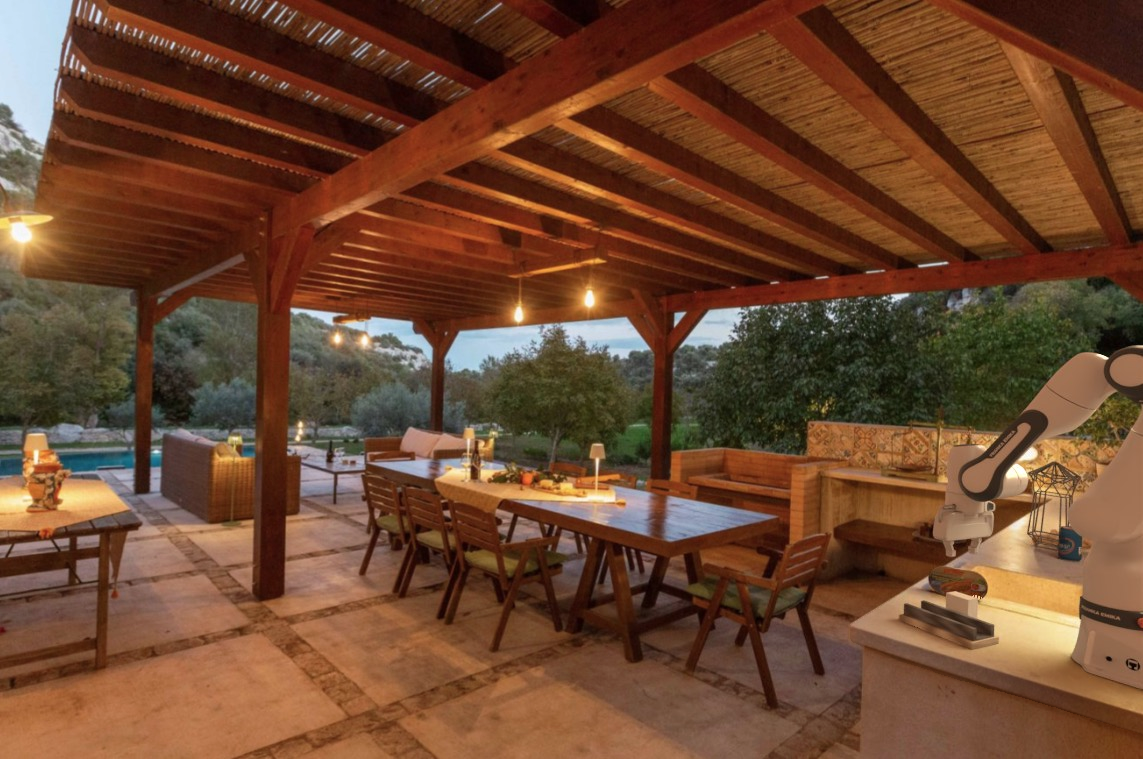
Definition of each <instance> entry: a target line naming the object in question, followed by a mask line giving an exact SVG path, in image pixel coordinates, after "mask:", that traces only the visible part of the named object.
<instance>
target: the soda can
mask: <svg viewBox="0 0 1143 759" xmlns="http://www.w3.org/2000/svg"><path fill="white" fill-rule="evenodd" d="M1058 534H1059V536H1058V539H1057V540H1058V542H1057V545H1058V551H1057V555H1058V557H1059V559H1060V560H1063V561H1066V562H1072V563H1079V562H1080V561H1081V560H1082V558H1083V537H1082V536H1080V535H1079V534H1077V533H1076V532H1075V531H1074V530H1073V529H1072V527H1071V526H1069V527H1068V526H1066V525H1065V526H1062V525H1061V529H1060V530H1059V529H1058Z"/></svg>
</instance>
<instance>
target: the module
mask: <svg viewBox="0 0 1143 759" xmlns="http://www.w3.org/2000/svg"><path fill="white" fill-rule="evenodd" d="M978 604H979V600H978V598H975V597H972V596H969V595H966V594H963V593H959V592H956V591H954V592H948V593H946V595H945V608H948V609H951V610H953V611H956V612H959V613H962V614H965V615H968V616H971V617H973V618H976V619H978V611H979V609H978V608H979V607H978V606H979V605H978Z"/></svg>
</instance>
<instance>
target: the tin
mask: <svg viewBox="0 0 1143 759" xmlns="http://www.w3.org/2000/svg"><path fill="white" fill-rule="evenodd" d="M927 581H928V584H929V586H930V588H932V590H933V591H934V592H935V593H937V594H939V595H943V596H946V593H948V592H954V591H956V592H959V593H963V594H966V595H969V596H973V595H974V597H975V595H977V598H978V596H980V600H982V599H984V598H985V597H986V595H987V593H988V591H989V584H988V582H987V579H985V577H984V576H983V575H982V574H981V573H979V572H977V571H975V570H970V569H965V568H957V567H953V566H947V565H938V566H935V567H934V568H932V569H931V570H930V571H929V573H928V580H927ZM981 597H982V599H981Z"/></svg>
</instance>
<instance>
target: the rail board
mask: <svg viewBox="0 0 1143 759" xmlns="http://www.w3.org/2000/svg"><path fill="white" fill-rule="evenodd" d="M898 620H900V622H902V623H904V622H905V623H904V624H907V625H909V624H910V626H912V625H913V626H912V627H914V626H915V628H917V627H918V628H917V629H919V628H920V629H919V630H921V631H925V632H928V633H930V634H933V635H935V636H937V635H938V637H940V636H941V637H940V638H942V637H943V639H945V638H946V639H945V640H947V639H948V641H950V642H952V643H956V644H958V645H961V646H962V647H965V648H967V649H970V650H976V649H979V648H985V647H989V646H993V645H997V644H999V641H1000V637H999V636H996V635H995V624H994V623H990V622H987V621H984V620H981V619H979V618H977V619H976V618H973V617H971V616H968V615H965V614H962V613H959V612H956V611H953V610H951V609H948V608H946V606H945V607H944V606H942V605H938V604H935V603H933V602H931V601H927V600H921V601H920V607H919V606H916V605H913V604H911V603H908V602H907V603H903V613H902V614H901V613H900V614H899V615H898Z"/></svg>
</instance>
